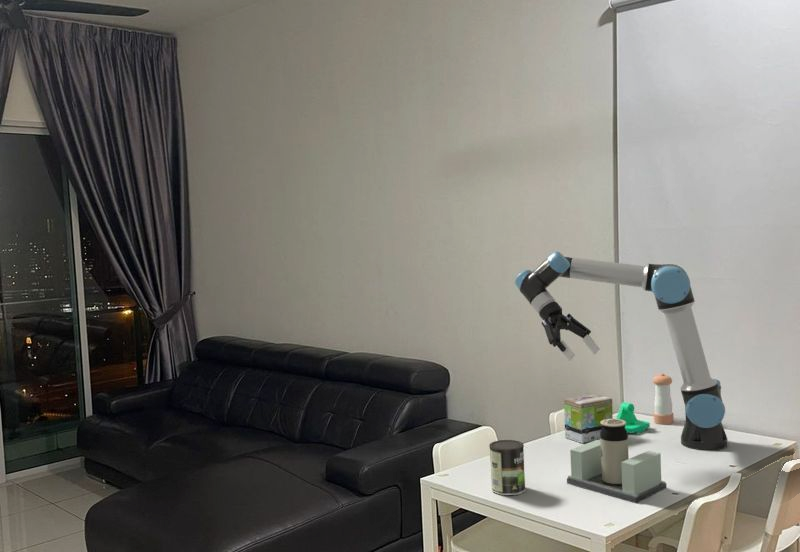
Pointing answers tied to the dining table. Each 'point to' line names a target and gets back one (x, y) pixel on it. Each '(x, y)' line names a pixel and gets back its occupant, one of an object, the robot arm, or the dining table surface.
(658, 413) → the pepper shaker
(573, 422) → the tea box
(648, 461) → the grey block holder
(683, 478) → the dining table surface
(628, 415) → the camera mount
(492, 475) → the coffee can
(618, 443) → the travel mug
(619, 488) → the rail plate
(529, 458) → the dining table surface
